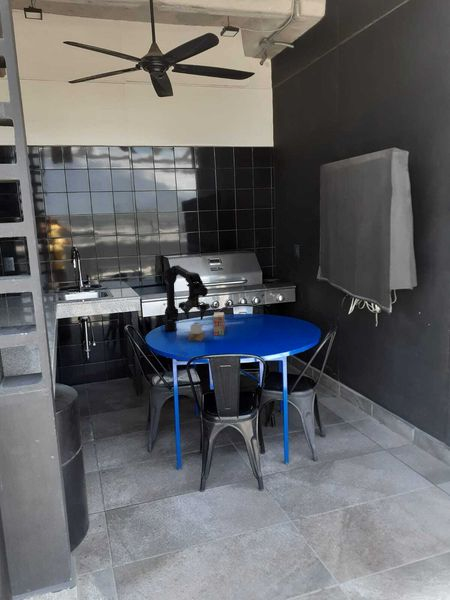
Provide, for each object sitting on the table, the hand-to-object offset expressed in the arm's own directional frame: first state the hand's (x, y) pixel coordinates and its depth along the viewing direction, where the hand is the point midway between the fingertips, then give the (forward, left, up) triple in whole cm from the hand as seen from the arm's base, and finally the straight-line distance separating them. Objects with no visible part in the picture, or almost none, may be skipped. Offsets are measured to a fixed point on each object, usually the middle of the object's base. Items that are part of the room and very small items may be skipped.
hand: (194, 319), depth 275 cm
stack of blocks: (+7, +21, -12) cm, 25 cm away
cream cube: (+1, -1, -8) cm, 8 cm away
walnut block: (+2, -1, -12) cm, 12 cm away
